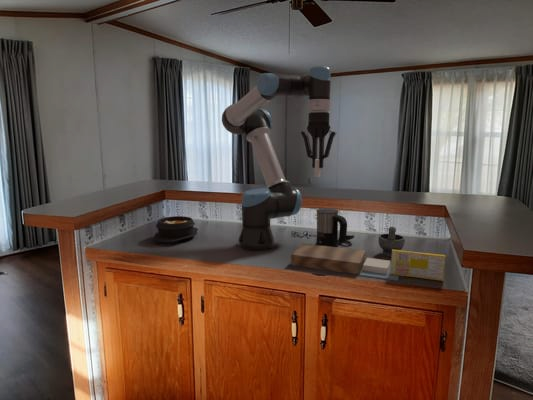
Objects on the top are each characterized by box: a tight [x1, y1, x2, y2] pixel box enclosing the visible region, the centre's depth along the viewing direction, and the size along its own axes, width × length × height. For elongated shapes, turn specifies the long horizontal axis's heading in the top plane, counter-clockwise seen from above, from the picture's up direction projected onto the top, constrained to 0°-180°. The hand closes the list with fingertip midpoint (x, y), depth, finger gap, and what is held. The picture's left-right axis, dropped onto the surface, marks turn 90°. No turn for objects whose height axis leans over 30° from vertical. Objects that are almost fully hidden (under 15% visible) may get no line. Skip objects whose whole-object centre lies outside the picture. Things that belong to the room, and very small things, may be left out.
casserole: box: [151, 215, 199, 243], centre depth 170 cm, size 25×19×8 cm
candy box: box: [390, 249, 446, 282], centre depth 124 cm, size 16×2×8 cm, turn 72°
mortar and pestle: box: [378, 226, 406, 257], centre depth 146 cm, size 11×9×12 cm
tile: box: [362, 257, 391, 274], centre depth 131 cm, size 8×8×2 cm
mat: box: [359, 261, 400, 282], centre depth 131 cm, size 12×16×1 cm
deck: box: [290, 243, 367, 275], centre depth 138 cm, size 24×14×4 cm, turn 68°
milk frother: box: [315, 208, 355, 247], centre depth 160 cm, size 14×16×15 cm
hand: (317, 176), depth 142 cm, fingers closed
